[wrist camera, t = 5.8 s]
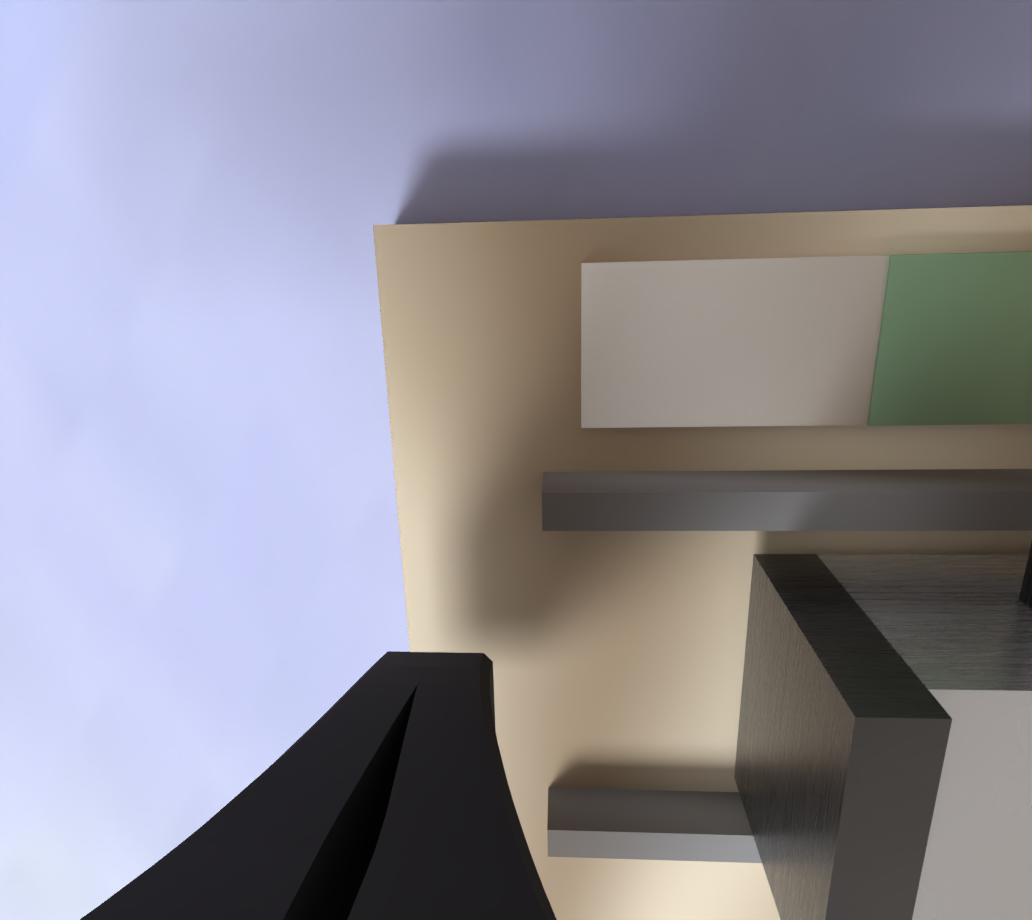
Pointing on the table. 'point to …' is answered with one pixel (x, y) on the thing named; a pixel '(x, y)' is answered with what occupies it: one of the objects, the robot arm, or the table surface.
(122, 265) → the table surface
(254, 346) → the table surface
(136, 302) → the table surface
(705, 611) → the bench
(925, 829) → the block with upright rod
